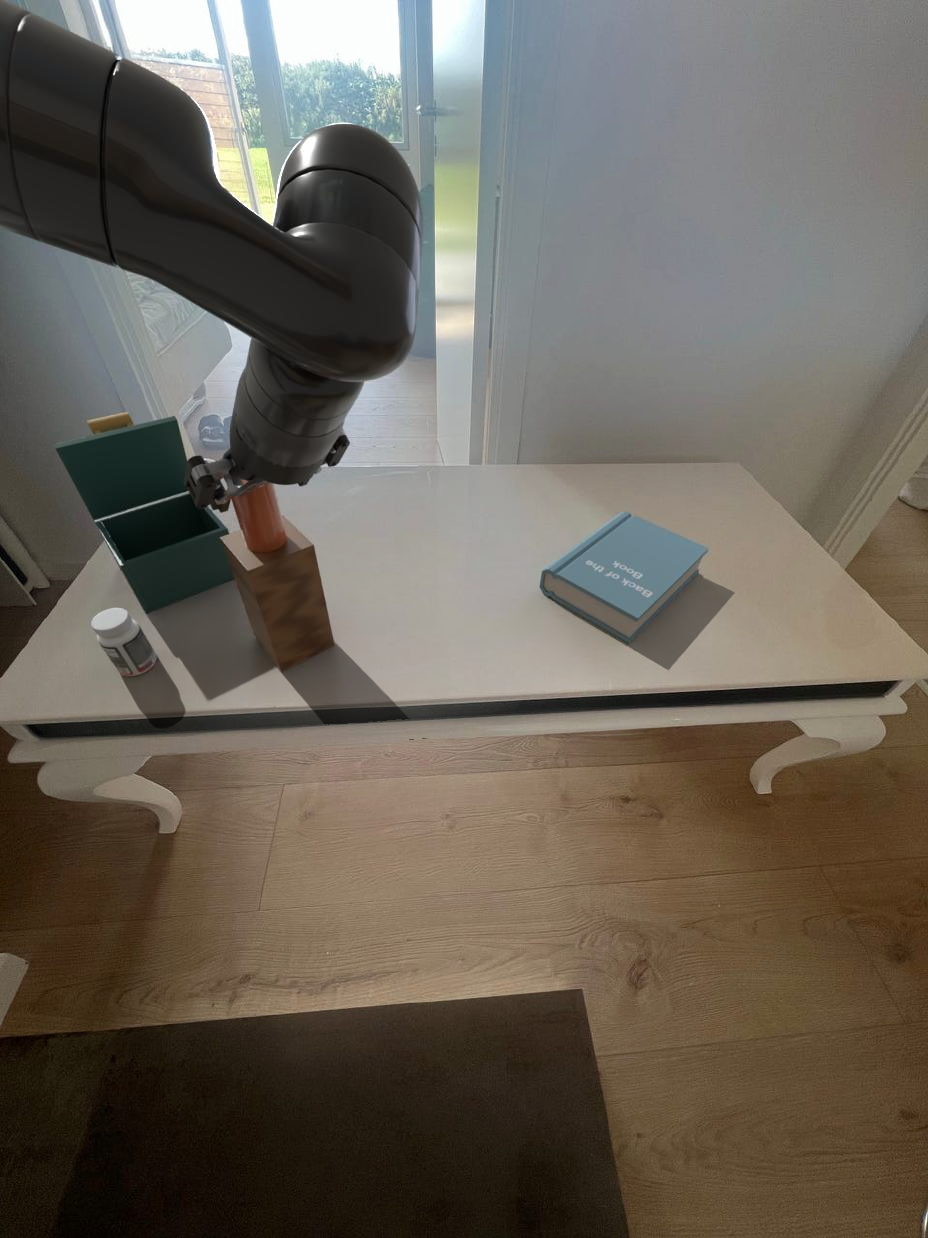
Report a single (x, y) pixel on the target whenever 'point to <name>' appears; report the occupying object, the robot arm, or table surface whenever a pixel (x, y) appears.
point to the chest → (167, 550)
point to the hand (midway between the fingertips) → (259, 489)
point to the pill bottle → (123, 641)
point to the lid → (125, 463)
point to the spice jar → (260, 519)
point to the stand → (282, 596)
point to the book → (623, 574)
